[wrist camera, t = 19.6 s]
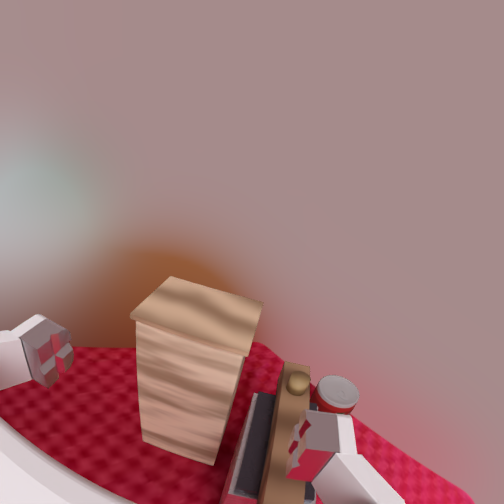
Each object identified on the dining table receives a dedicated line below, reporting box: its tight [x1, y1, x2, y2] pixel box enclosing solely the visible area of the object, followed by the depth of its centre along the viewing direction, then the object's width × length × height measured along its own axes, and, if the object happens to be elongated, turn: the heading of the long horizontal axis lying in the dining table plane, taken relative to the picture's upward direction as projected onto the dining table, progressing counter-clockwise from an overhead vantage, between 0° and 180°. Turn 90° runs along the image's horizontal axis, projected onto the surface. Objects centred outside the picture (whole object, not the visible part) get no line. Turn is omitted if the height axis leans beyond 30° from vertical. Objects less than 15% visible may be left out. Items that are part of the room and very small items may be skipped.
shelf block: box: [130, 276, 263, 466], centre depth 37 cm, size 11×13×26 cm
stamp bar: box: [256, 361, 311, 504], centre depth 27 cm, size 22×4×6 cm, turn 170°
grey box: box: [219, 392, 318, 504], centre depth 30 cm, size 16×9×16 cm, turn 170°
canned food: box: [309, 375, 359, 415], centre depth 46 cm, size 8×8×11 cm
